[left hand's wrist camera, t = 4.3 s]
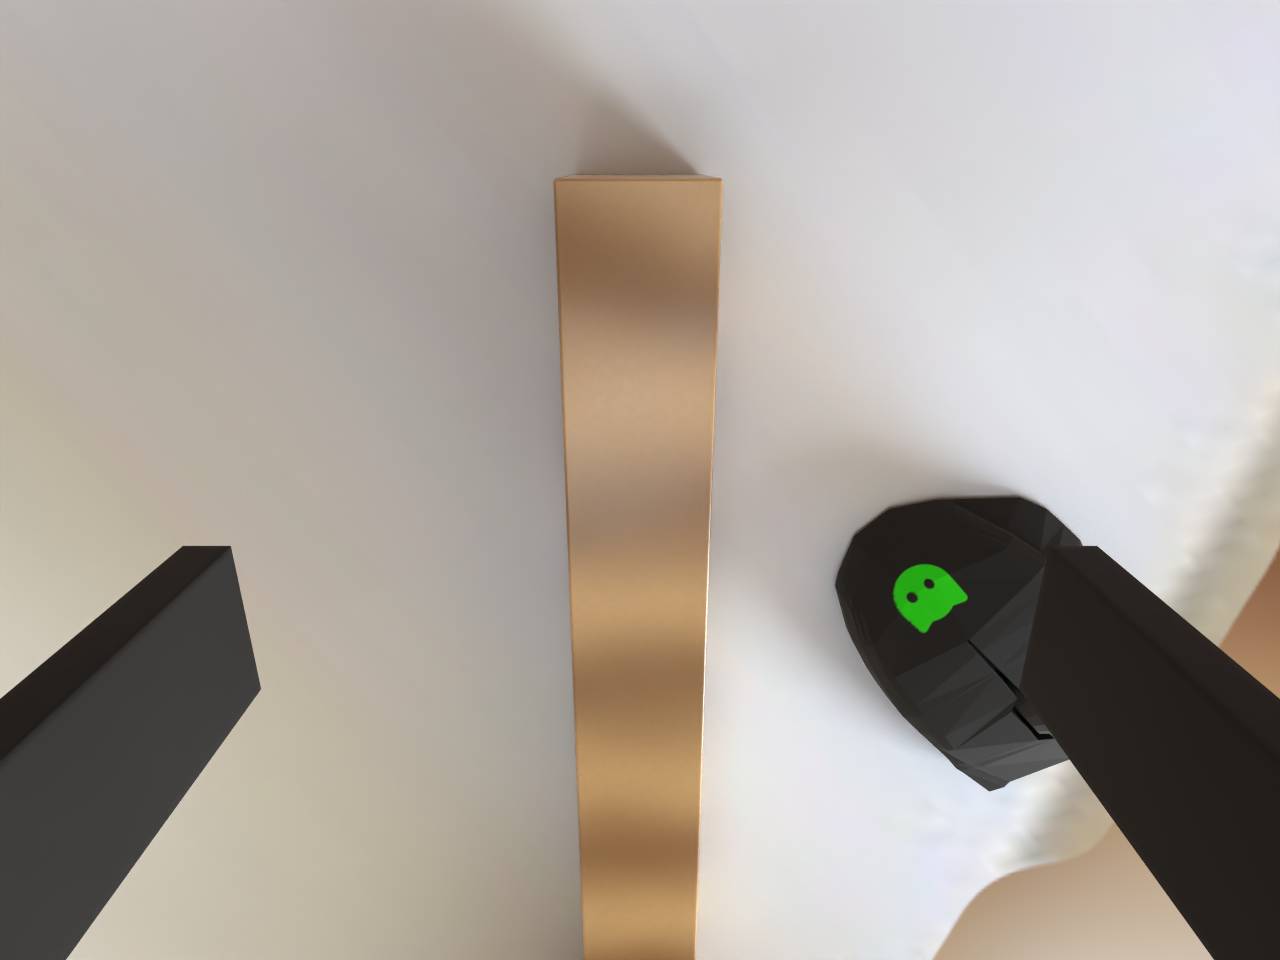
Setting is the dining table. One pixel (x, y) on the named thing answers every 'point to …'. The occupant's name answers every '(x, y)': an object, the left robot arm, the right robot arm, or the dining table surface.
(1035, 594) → the computer mouse
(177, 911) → the dining table surface
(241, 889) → the dining table surface
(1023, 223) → the dining table surface
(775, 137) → the dining table surface
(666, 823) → the beam
